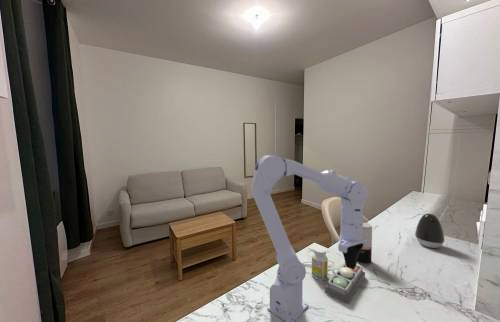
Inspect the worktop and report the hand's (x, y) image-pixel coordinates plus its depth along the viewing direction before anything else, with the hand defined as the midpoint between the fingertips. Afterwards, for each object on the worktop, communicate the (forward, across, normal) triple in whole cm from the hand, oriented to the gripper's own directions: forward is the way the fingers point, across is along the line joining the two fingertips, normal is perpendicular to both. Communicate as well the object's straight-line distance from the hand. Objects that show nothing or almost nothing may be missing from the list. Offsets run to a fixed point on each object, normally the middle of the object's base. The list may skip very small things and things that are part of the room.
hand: (350, 267), depth 59 cm
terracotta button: (+8, +13, +4) cm, 15 cm away
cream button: (+7, +7, +3) cm, 11 cm away
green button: (+8, +1, +3) cm, 9 cm away
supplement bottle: (+11, +5, +12) cm, 17 cm away
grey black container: (+11, +27, +4) cm, 29 cm away
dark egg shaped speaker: (+11, +63, -15) cm, 66 cm away
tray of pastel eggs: (+10, +7, +4) cm, 13 cm away
